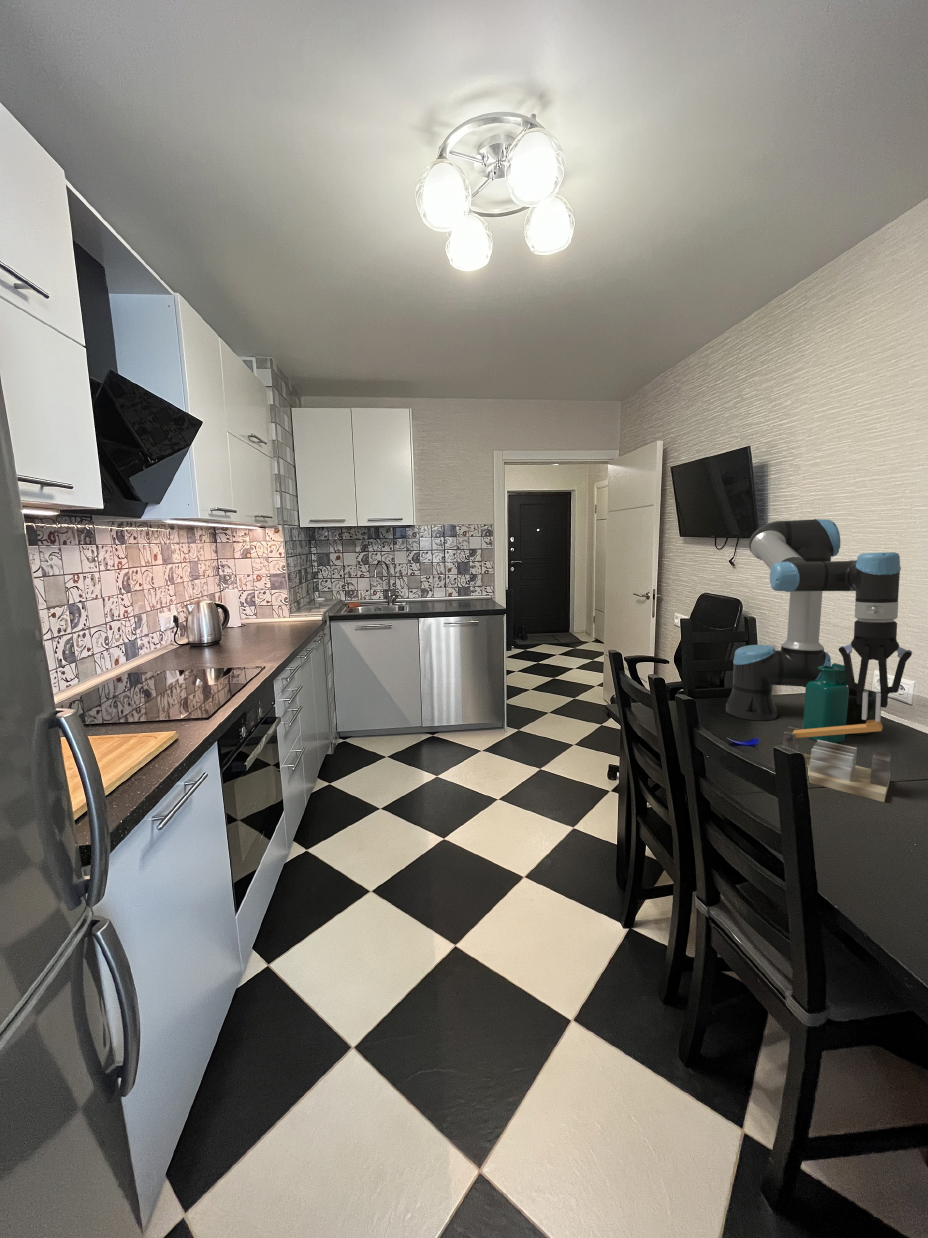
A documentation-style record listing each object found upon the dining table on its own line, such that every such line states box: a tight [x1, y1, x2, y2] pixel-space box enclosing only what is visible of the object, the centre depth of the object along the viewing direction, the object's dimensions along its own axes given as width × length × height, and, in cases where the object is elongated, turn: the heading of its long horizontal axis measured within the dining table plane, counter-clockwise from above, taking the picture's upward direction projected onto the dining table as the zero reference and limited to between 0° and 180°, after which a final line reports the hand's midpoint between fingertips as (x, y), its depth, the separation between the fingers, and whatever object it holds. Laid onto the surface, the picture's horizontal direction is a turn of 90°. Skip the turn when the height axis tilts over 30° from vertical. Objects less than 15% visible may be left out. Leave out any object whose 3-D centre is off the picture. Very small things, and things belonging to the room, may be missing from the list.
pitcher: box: [802, 662, 849, 744], centre depth 143 cm, size 10×8×22 cm
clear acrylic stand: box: [782, 726, 892, 803], centre depth 121 cm, size 21×13×10 cm, turn 45°
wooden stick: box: [793, 720, 884, 739], centre depth 120 cm, size 18×3×2 cm, turn 45°
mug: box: [846, 686, 877, 736], centre depth 151 cm, size 11×15×12 cm
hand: (871, 719), depth 114 cm, fingers open, 2 cm apart
